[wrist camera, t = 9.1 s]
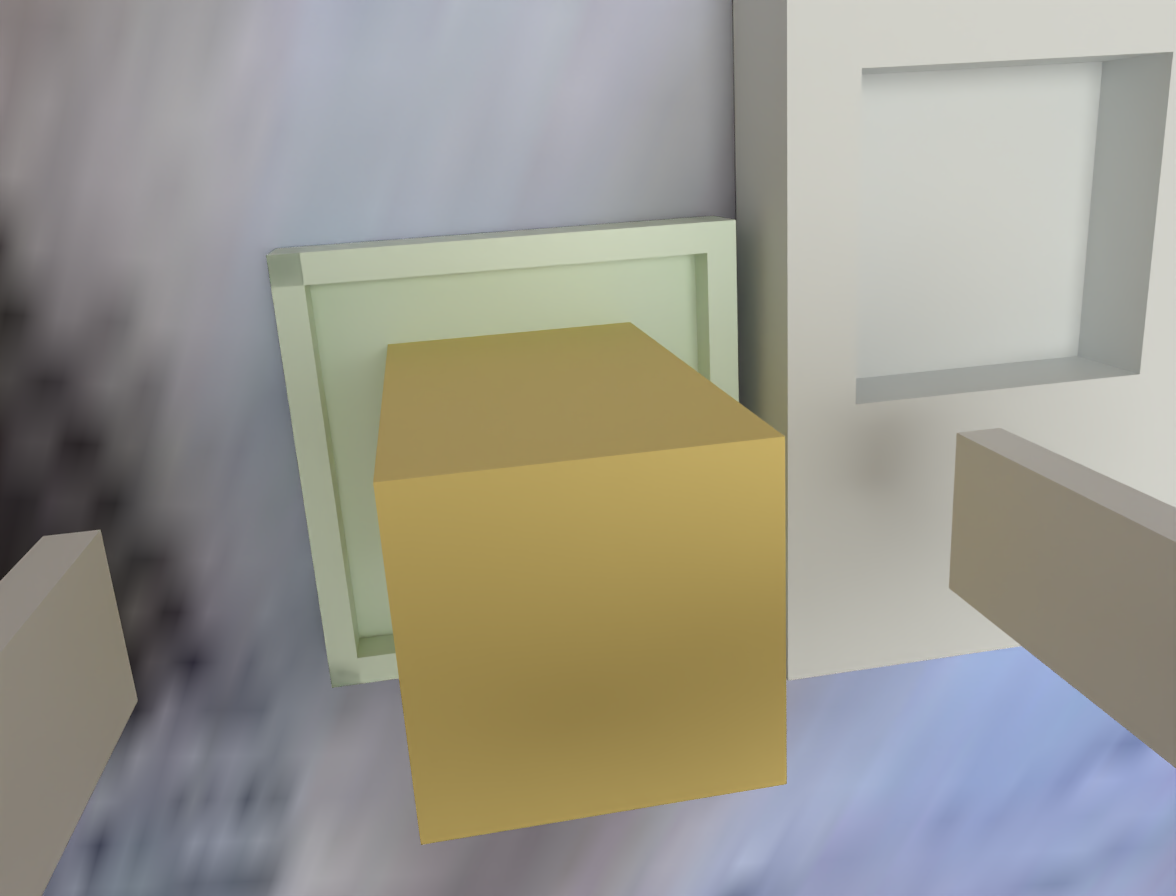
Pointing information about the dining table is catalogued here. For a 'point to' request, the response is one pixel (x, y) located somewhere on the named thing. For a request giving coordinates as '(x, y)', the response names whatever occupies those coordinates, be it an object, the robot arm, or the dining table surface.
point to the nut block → (578, 578)
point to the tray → (454, 310)
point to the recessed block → (946, 280)
